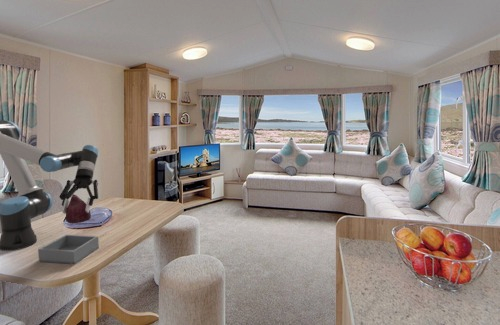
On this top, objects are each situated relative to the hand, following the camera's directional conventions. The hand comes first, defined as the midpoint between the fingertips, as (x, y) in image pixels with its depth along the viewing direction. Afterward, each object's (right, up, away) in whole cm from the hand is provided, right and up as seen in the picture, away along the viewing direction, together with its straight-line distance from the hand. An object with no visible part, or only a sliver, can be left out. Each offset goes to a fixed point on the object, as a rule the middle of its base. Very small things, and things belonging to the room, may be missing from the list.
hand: (75, 211), depth 135 cm
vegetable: (-1, -5, +4) cm, 6 cm away
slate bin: (-3, -20, +1) cm, 20 cm away
